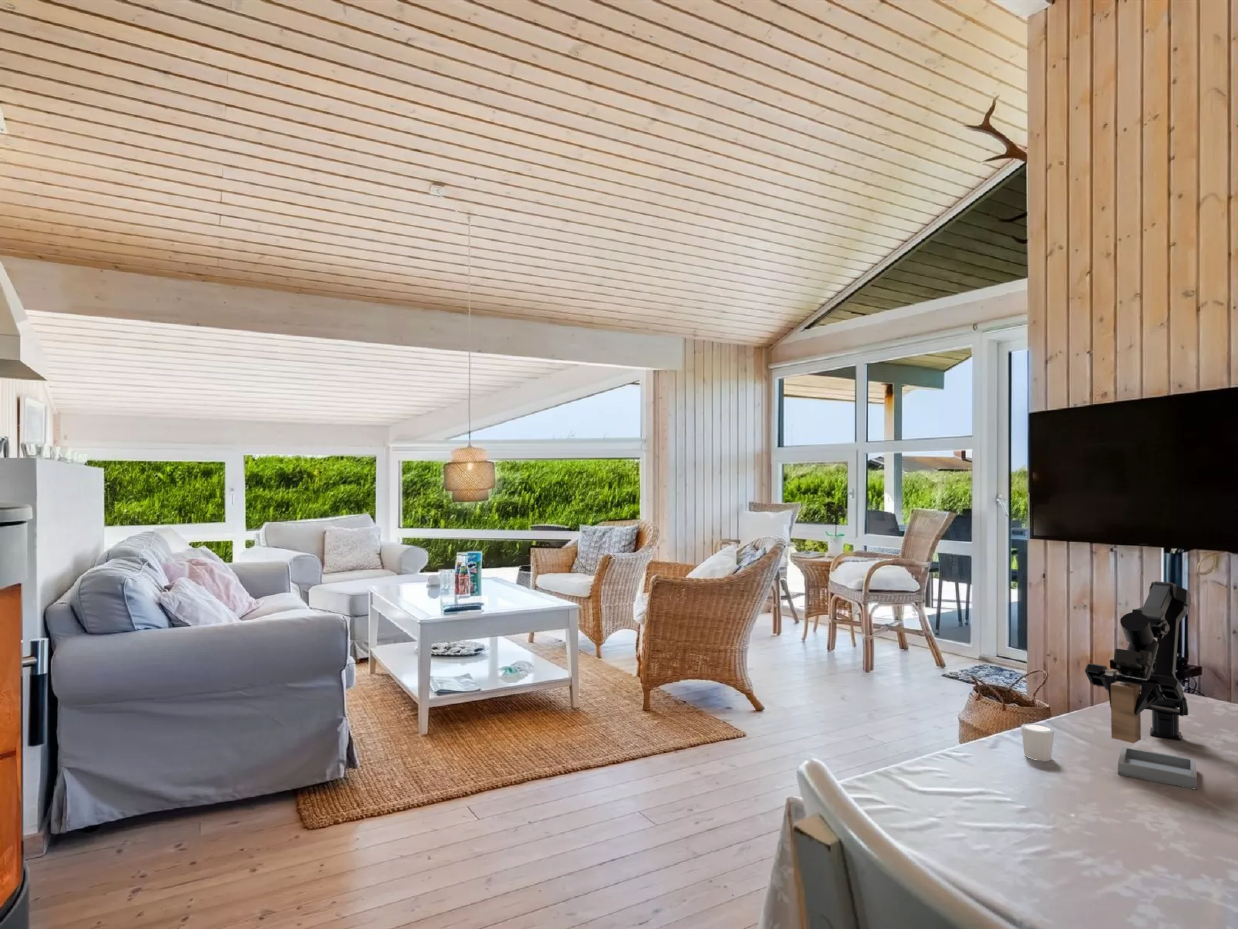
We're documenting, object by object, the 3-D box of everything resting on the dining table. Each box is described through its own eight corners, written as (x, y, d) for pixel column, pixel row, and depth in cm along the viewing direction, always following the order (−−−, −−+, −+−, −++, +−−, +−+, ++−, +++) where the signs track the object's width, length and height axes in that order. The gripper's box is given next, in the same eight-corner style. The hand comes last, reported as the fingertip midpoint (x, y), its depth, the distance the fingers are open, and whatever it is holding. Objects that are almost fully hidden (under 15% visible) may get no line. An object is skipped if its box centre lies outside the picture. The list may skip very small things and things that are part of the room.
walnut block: (1118, 734, 177) (1118, 680, 177) (1140, 739, 173) (1140, 684, 174) (1111, 738, 174) (1110, 683, 174) (1133, 743, 170) (1132, 687, 171)
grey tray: (1122, 756, 178) (1122, 746, 178) (1196, 770, 170) (1195, 759, 170) (1118, 774, 167) (1117, 762, 167) (1196, 789, 159) (1196, 777, 159)
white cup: (1046, 752, 181) (1045, 723, 181) (1060, 763, 174) (1059, 732, 174) (1016, 751, 181) (1016, 722, 182) (1029, 761, 174) (1028, 731, 175)
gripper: (1087, 630, 184) (1069, 681, 177) (1178, 642, 169) (1162, 699, 162) (1100, 657, 189) (1083, 709, 181) (1189, 672, 174) (1175, 729, 167)
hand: (1123, 711), depth 173 cm, fingers closed on walnut block, 4 cm apart
